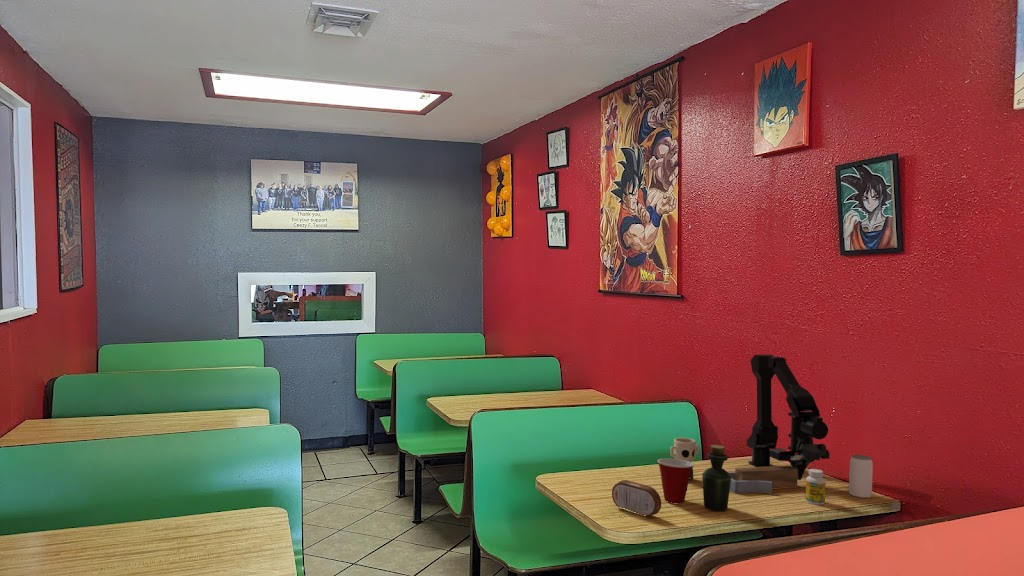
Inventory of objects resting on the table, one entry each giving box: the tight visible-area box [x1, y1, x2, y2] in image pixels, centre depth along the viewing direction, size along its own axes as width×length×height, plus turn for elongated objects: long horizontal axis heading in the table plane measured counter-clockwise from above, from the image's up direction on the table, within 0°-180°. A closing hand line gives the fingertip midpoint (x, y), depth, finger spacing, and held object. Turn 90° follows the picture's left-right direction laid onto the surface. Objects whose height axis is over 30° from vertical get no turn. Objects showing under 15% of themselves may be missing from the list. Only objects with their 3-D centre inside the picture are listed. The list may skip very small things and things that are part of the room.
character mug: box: [669, 437, 700, 481], centre depth 234 cm, size 11×7×13 cm, turn 111°
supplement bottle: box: [805, 468, 826, 506], centre depth 213 cm, size 5×5×10 cm
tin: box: [611, 479, 662, 518], centre depth 200 cm, size 15×3×8 cm, turn 48°
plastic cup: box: [657, 458, 695, 504], centre depth 211 cm, size 11×11×12 cm
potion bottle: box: [701, 444, 731, 513], centre depth 205 cm, size 8×8×18 cm
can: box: [848, 454, 874, 499], centre depth 221 cm, size 6×6×12 cm
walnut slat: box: [734, 465, 798, 489], centre depth 227 cm, size 4×20×6 cm, turn 103°
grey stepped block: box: [728, 471, 773, 494], centre depth 226 cm, size 12×15×4 cm
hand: (799, 479), depth 231 cm, fingers closed
